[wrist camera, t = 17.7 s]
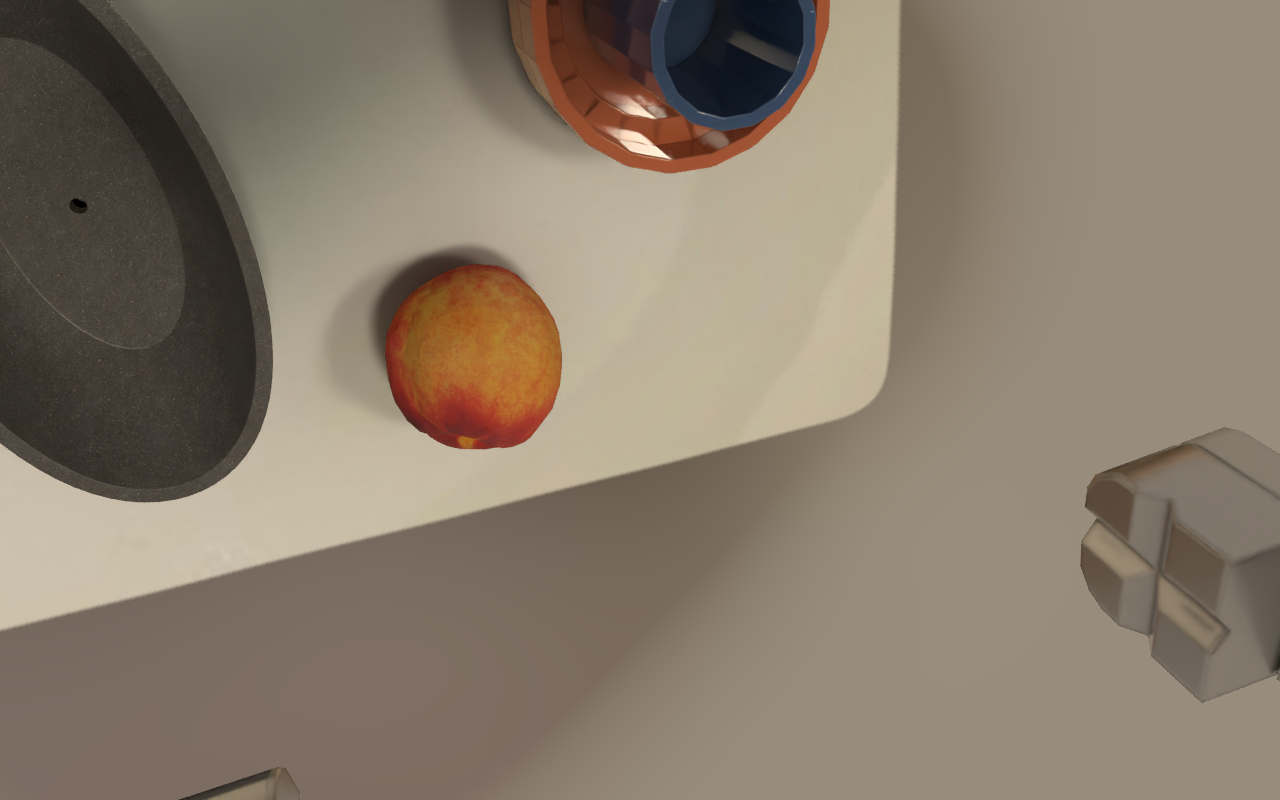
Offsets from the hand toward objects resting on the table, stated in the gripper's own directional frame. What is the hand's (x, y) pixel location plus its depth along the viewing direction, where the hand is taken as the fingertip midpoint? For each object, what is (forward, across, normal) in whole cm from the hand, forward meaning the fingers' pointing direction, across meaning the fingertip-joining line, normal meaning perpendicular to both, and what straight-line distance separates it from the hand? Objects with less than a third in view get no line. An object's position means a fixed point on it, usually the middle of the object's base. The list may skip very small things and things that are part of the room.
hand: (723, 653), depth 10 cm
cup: (+36, -11, +2) cm, 38 cm away
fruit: (+37, 0, +14) cm, 40 cm away
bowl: (+37, +13, +4) cm, 40 cm away
